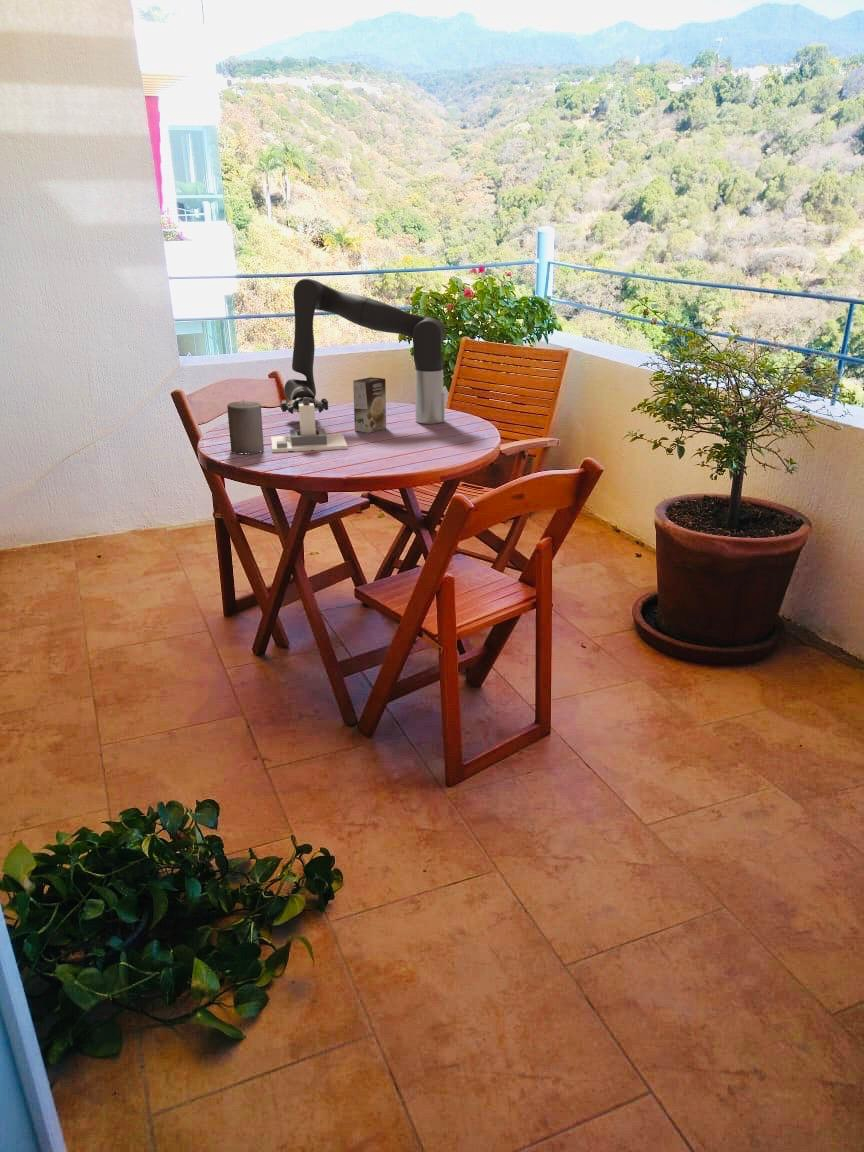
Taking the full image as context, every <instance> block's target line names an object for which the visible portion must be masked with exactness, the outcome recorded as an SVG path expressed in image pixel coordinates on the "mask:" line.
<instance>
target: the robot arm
mask: <svg viewBox="0 0 864 1152" xmlns="http://www.w3.org/2000/svg"><path fill="white" fill-rule="evenodd" d="M293 308H294V339H293V340H294V341H293V353H292V362H291V363H292V364H291V369H292V371H294V372H295V373H298V374H302V375H303V376H304V377H305V379H306V380H303V379H296V378H292V379H288V380H287V381H286V382H285V384H284V387H283V389H284V396H285V398H286V399H282V400H281V412H282V413H285V412H288V413H290V414H291V415H292V414H294V413H298V414H299V404H303V398H304V397H308V398H309V403H313V404H314V410H315V412H317V411H318V413H322V412H324V410H325V411H328V410H329V401H328V400H327V399H326V398H321V400H320V401H319V400H318V399H316V397H317V396H316V395H317V391H316V390H317V389H316V385H315V379H314V360H315V337H314V336H315V335H314V316H315V310H317V311H318V310H319V311H322V312H327V313H332V314H335V315H337V316H339V317H341V318H344V319H345V320H347V321H349V322H351V323H353V324H355V325H358V326H360V327H364V328H366V329H369V330H372V331H375V332H376V331H377V332H383V333H390V334H399V335H402V336H406V337H408V338H411V339H412V349H413V350H412V351H413V362H414V367H415V368H414V369H415V373H414V375H415V377H414V378H415V379H414V381H415V383H414V384H415V421H416V423H420V424H425V425H429V424H431V425H432V424H440V423H445V400H446V399H445V398H446V397H445V393H444V361H443V357H442V342H443V341H444V340H445V337H446V328H445V326H444V324H443V323H442V322H441V320H438V319H437V318H433V317H430V316H423V315H419V314H414V313H411V312H407V311H404V310H402V309H400V308H397V307H396V306H392V305H390V304H387V303H385V302H382V301H379V300H377V299H373V298H370V297H367V296H363V295H359V294H353V293H347V292H342V291H339V290H337V289H334V288H332V287H330V286H327V285H326V284H324V283H322V282H320V281H317V280H315V279H312V278H302V279H299V280H298V281H297V282H296V283H295V285H294V287H293ZM287 400H288V401H290V402H288V401H287Z"/></svg>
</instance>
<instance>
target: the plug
mask: <svg viewBox="0 0 864 1152" xmlns="http://www.w3.org/2000/svg"><path fill="white" fill-rule="evenodd" d="M315 412H316V411H315V410H314V404H313V403H309V398H308V397H304V398H303V404H299V413H298V415H299V416H298V417H299V419H298V420H299V430H300V434H301V435H316V429H317V428H316V413H315Z"/></svg>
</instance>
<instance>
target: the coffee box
mask: <svg viewBox="0 0 864 1152" xmlns="http://www.w3.org/2000/svg"><path fill="white" fill-rule="evenodd" d="M386 381H387V380H386V378H382V377H373V376H372V377H371V376H370V377H365V378H359V379H355V380H354V379H353V381H352V383H353V386H352V387H353V411H354V412H353V414H354V415H353V416H354V417H353V418H354V421H353V422H354V431H356V432H362V433H367V434H369V433H373V432H378V431H381V430H384V429H387V398H386V397H387V393H386V392H387V390H386V389H387V388H386V386H387V384H386Z"/></svg>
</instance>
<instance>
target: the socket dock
mask: <svg viewBox="0 0 864 1152" xmlns="http://www.w3.org/2000/svg"><path fill="white" fill-rule="evenodd" d="M289 433H290V434H289V435H277V436H274V435H273V436H270V438H271V440H270V441H271V442H270V443H271V452H274V453H289V452H288V451H294V452H310V451H311V450H314V451H331V450H333V451H334V450H348V443H347V441H346V438H345V437H344V434H343V433H342V432H341V433H326V431H325V428H324V427H323V428H322V427H321V428H316V435H301V434H300V429H289Z"/></svg>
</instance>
